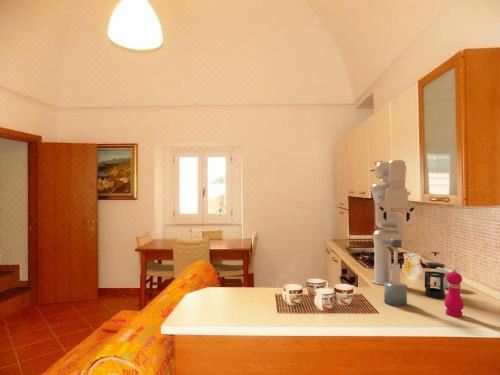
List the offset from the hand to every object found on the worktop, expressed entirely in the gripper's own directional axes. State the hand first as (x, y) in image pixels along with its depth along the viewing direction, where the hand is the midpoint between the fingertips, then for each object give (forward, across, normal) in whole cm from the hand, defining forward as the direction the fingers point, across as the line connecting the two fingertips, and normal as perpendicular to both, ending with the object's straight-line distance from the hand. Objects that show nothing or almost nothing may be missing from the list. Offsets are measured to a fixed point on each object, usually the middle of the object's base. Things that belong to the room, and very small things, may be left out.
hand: (396, 220), depth 166 cm
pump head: (+22, 0, +2) cm, 22 cm away
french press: (+40, +19, +25) cm, 50 cm away
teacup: (+39, +26, +50) cm, 68 cm away
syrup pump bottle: (+40, 0, +1) cm, 40 cm away
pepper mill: (+40, +24, -6) cm, 47 cm away
